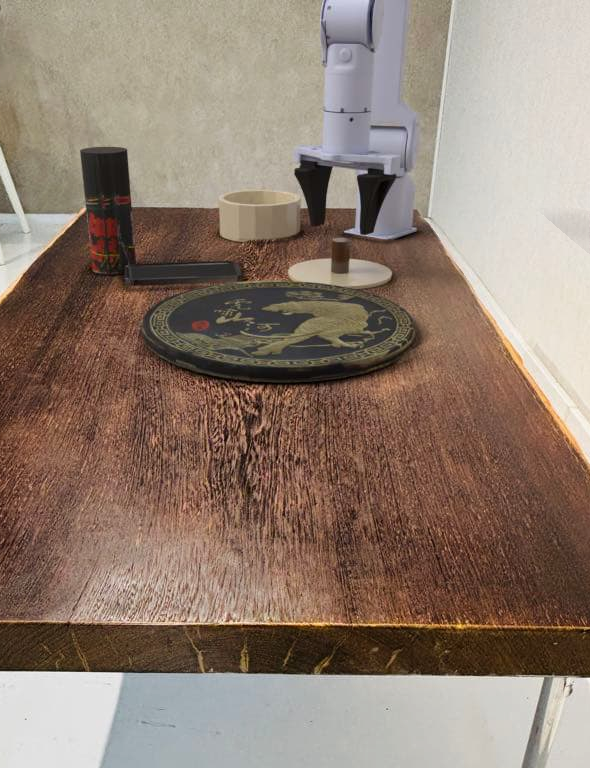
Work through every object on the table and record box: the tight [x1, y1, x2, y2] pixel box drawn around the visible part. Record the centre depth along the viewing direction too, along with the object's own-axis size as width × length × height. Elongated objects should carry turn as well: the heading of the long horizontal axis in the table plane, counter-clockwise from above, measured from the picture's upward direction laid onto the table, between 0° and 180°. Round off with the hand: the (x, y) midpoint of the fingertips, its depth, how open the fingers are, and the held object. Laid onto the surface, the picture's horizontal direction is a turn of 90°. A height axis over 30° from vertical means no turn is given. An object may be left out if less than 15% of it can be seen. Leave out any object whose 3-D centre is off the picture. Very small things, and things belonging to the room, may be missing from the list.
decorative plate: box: [141, 280, 416, 384], centre depth 94 cm, size 30×2×30 cm
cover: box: [287, 237, 393, 290], centre depth 112 cm, size 14×14×5 cm
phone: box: [124, 260, 243, 287], centre depth 113 cm, size 8×1×15 cm
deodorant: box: [79, 146, 137, 276], centre depth 113 cm, size 6×6×15 cm
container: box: [217, 189, 302, 243], centre depth 134 cm, size 13×13×5 cm
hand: (341, 229), depth 109 cm, fingers open, 7 cm apart
